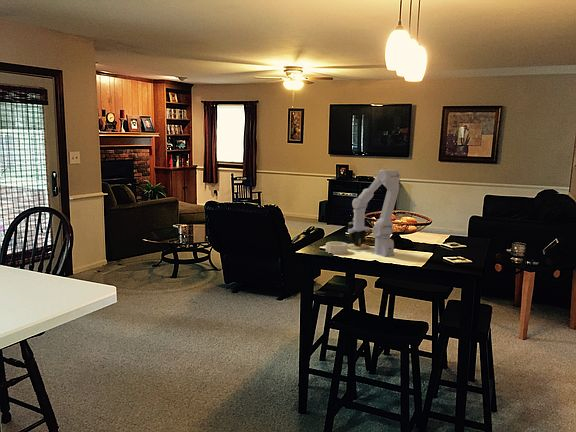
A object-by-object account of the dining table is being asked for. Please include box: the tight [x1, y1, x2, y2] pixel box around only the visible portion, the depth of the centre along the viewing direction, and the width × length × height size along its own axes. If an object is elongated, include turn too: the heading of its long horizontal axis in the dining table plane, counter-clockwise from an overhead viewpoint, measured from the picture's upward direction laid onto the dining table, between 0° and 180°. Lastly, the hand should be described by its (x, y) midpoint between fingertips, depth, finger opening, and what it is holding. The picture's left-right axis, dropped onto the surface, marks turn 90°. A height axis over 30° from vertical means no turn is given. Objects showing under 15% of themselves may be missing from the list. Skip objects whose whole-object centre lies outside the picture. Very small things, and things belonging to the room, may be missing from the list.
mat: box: [347, 246, 375, 253], centre depth 269 cm, size 15×15×1 cm
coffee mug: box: [347, 221, 354, 241], centre depth 291 cm, size 12×9×10 cm
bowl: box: [325, 241, 349, 255], centre depth 258 cm, size 11×11×4 cm
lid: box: [347, 238, 371, 251], centre depth 269 cm, size 13×13×5 cm
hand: (358, 244), depth 269 cm, fingers closed on lid, 3 cm apart
